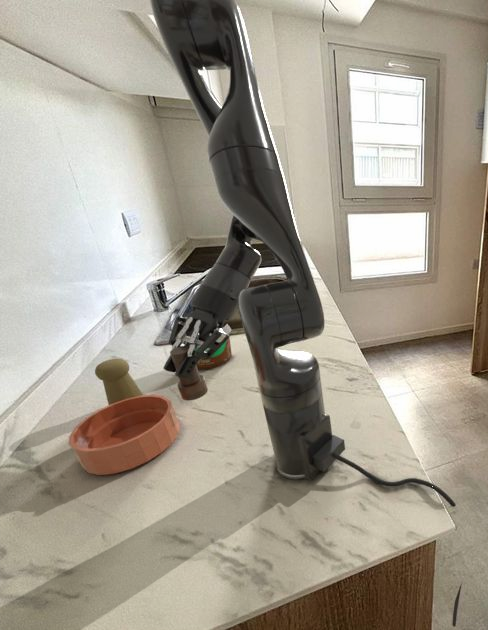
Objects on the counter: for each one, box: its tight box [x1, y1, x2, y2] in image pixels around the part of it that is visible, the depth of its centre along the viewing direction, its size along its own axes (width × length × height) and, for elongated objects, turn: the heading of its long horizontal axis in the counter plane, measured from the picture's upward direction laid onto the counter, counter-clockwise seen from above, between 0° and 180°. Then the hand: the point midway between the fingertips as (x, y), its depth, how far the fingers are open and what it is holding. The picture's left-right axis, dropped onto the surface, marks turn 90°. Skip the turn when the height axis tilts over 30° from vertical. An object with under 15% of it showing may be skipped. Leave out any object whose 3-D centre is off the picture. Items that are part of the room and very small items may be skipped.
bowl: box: [68, 394, 181, 476], centre depth 61 cm, size 14×14×6 cm
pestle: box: [169, 346, 209, 402], centre depth 63 cm, size 4×4×10 cm
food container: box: [176, 323, 233, 370], centre depth 84 cm, size 12×6×10 cm, turn 105°
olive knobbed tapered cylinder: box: [94, 357, 144, 405], centre depth 70 cm, size 6×6×11 cm
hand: (175, 373), depth 61 cm, fingers closed on pestle, 3 cm apart
